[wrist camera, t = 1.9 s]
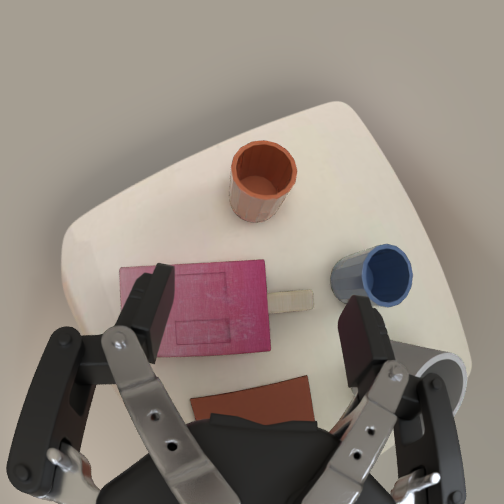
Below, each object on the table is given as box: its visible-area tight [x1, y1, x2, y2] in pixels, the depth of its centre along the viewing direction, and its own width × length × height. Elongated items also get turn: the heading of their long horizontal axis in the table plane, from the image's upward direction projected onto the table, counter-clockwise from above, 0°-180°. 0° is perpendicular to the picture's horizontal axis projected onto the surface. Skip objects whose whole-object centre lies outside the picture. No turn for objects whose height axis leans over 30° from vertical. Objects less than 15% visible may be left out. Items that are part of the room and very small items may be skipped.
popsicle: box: [119, 259, 314, 357], centre depth 30 cm, size 9×5×20 cm
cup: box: [351, 340, 467, 435], centre depth 27 cm, size 9×9×12 cm
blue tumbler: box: [331, 244, 413, 307], centre depth 30 cm, size 6×6×8 cm
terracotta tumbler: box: [229, 140, 297, 222], centre depth 30 cm, size 6×6×8 cm
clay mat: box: [190, 375, 315, 425], centre depth 30 cm, size 14×16×1 cm
